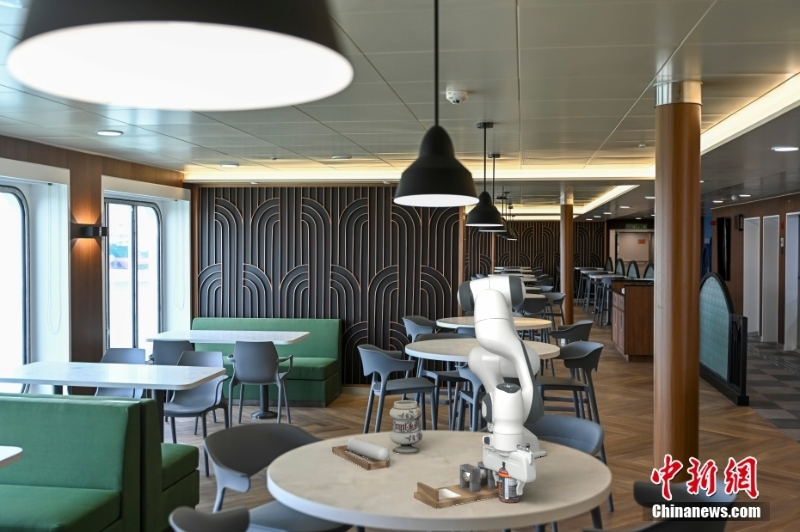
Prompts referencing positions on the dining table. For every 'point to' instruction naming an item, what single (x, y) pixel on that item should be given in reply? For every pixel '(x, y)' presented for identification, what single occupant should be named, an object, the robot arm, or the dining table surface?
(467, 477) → the shaft
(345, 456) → the tube cradle
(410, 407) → the apothecary jar
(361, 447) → the tube
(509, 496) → the supplement bottle
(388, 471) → the dining table surface
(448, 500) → the rail
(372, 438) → the dining table surface
